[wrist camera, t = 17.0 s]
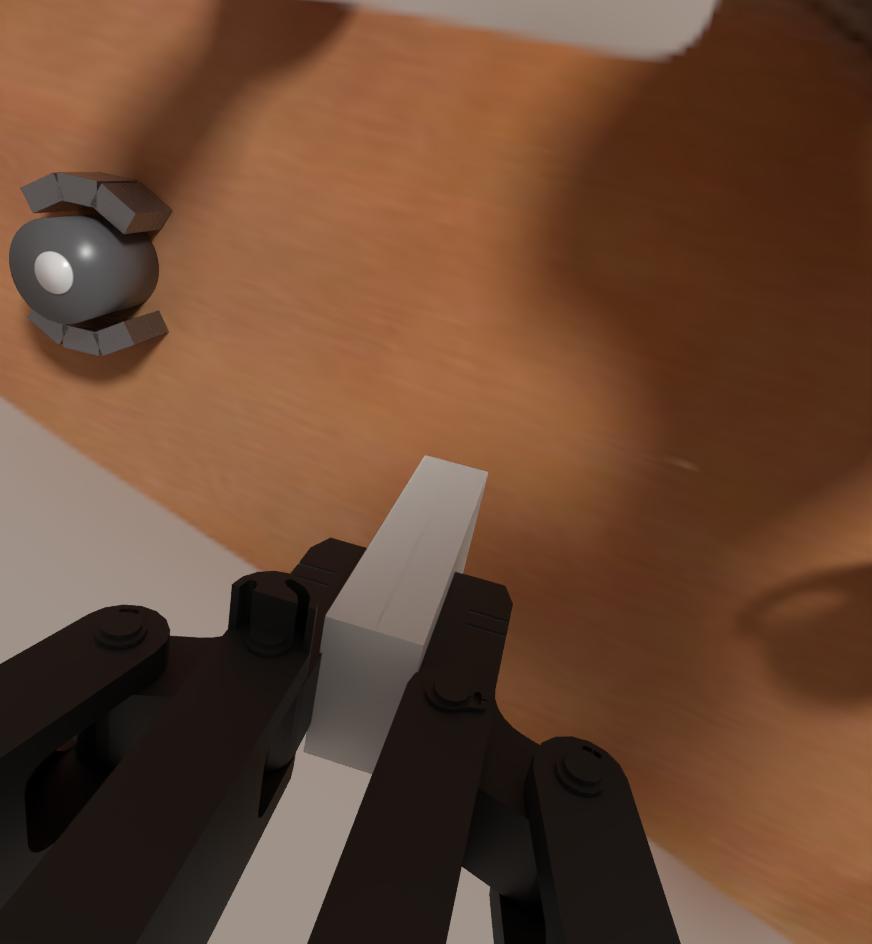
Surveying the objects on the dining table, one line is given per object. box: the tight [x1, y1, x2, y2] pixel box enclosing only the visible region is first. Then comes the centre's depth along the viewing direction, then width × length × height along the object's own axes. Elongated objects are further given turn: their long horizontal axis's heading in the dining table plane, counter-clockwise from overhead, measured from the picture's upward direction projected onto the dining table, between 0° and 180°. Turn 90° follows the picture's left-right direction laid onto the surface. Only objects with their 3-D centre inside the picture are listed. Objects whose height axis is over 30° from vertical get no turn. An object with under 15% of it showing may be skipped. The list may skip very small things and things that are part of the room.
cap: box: [9, 214, 159, 324], centre depth 44 cm, size 6×6×6 cm
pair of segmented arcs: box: [21, 172, 172, 356], centre depth 45 cm, size 10×7×4 cm
